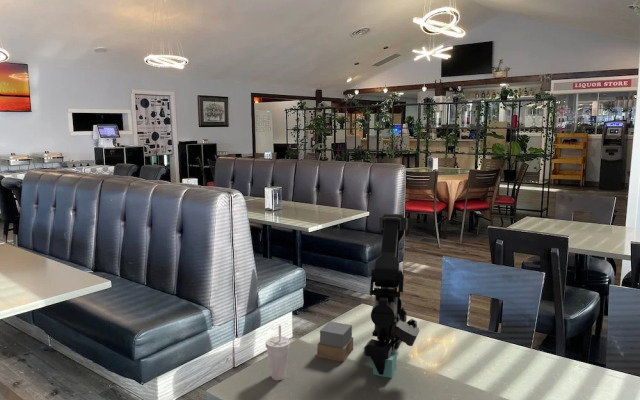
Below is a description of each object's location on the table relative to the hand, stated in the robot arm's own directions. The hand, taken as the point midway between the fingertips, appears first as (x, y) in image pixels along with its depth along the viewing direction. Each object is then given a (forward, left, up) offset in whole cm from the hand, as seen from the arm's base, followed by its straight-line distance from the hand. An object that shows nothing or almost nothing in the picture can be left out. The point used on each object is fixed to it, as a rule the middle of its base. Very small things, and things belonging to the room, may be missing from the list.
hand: (384, 367), depth 123 cm
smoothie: (+13, -25, -1) cm, 28 cm away
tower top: (-5, -16, +3) cm, 17 cm away
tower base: (-5, -16, -1) cm, 17 cm away
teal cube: (0, 0, -1) cm, 1 cm away
